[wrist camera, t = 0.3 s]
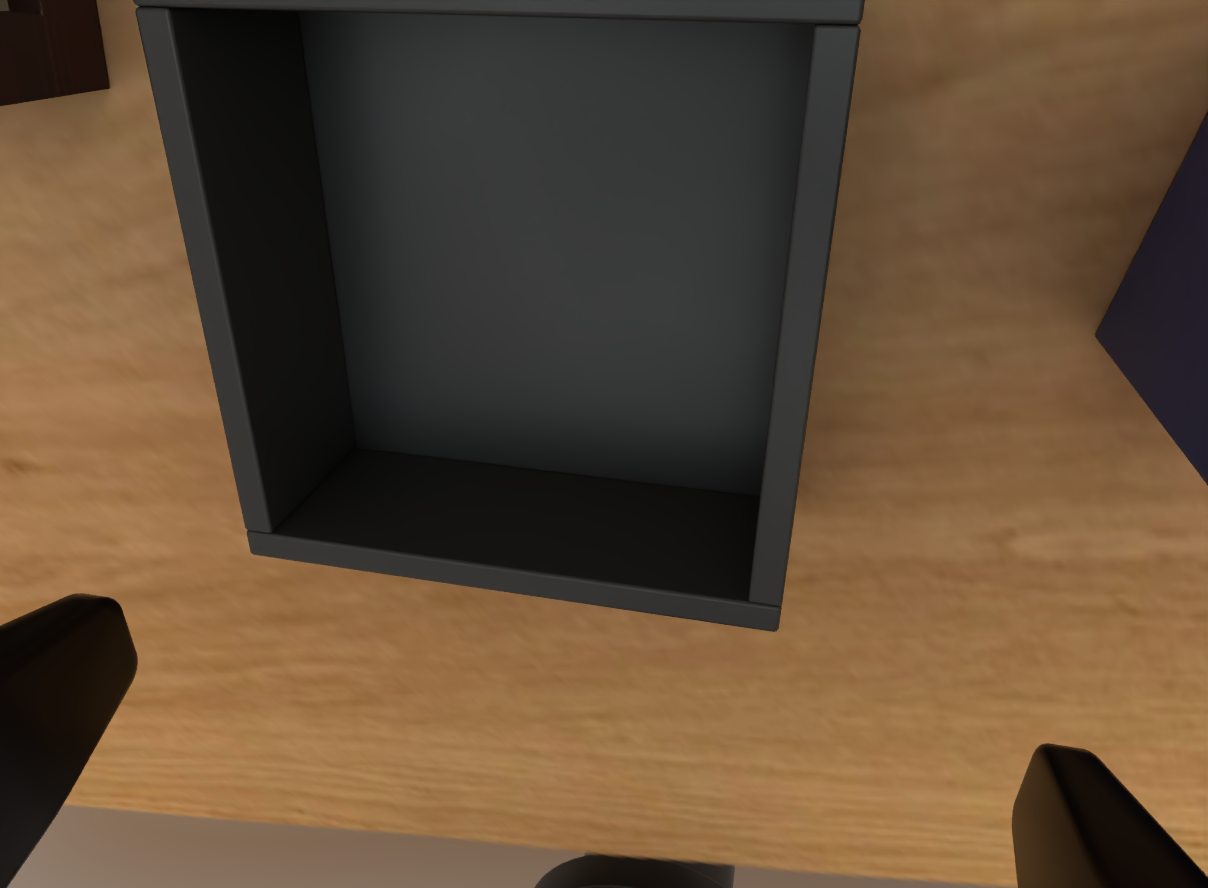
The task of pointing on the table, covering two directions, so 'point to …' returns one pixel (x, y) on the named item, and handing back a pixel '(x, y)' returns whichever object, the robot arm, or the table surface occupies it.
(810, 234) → the bin
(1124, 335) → the block
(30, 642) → the robot arm
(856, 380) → the table surface
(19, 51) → the decorative book
